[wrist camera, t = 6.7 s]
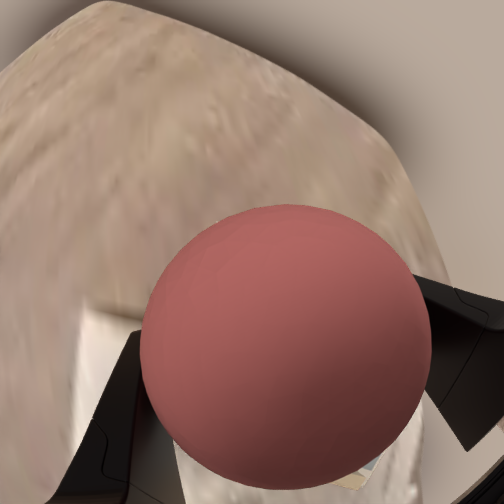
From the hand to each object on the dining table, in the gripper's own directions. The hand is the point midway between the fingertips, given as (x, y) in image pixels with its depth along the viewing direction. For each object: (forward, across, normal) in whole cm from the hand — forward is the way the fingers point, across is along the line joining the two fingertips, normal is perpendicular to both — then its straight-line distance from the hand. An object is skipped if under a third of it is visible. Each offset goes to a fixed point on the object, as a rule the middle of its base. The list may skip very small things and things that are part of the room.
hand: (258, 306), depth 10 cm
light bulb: (+4, 0, +6) cm, 7 cm away
